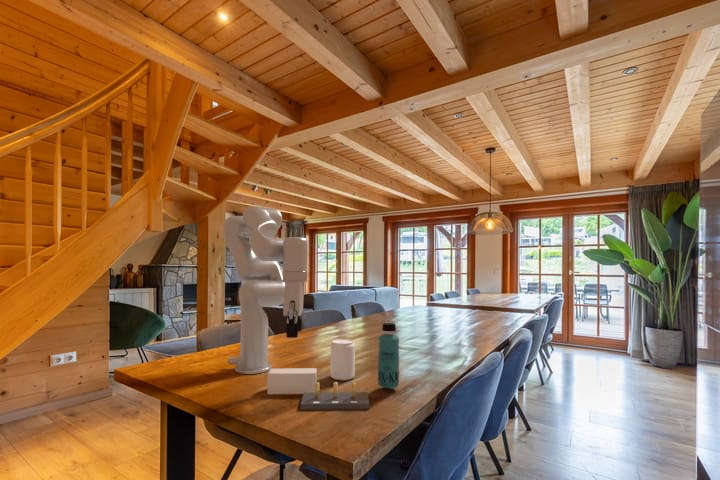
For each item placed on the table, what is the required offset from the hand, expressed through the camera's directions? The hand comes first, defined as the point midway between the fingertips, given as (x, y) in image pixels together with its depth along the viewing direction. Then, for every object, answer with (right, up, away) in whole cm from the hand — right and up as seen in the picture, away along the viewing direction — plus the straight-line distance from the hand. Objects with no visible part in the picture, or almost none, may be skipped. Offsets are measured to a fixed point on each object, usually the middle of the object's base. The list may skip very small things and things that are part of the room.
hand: (294, 334), depth 107 cm
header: (+13, -16, -10) cm, 23 cm away
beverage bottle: (+29, -17, +1) cm, 33 cm away
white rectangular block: (0, -17, -1) cm, 17 cm away
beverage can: (+14, -18, +12) cm, 26 cm away
